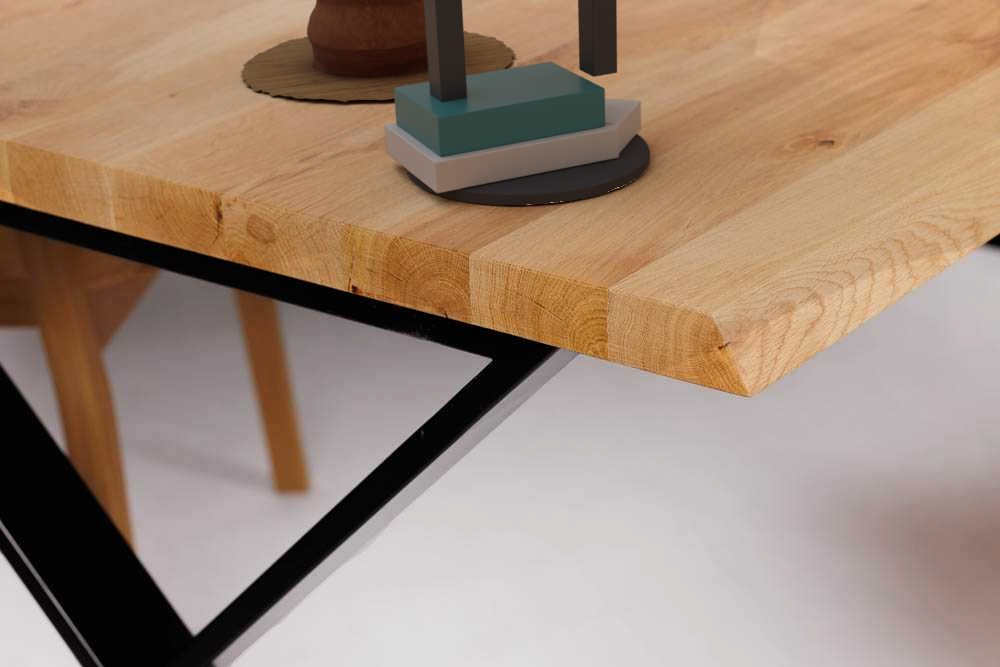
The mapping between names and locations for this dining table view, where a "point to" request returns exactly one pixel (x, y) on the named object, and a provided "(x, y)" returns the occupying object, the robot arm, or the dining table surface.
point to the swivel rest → (558, 181)
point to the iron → (509, 108)
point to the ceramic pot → (361, 53)
